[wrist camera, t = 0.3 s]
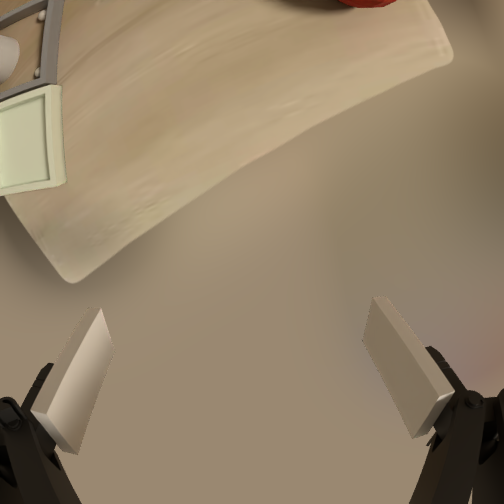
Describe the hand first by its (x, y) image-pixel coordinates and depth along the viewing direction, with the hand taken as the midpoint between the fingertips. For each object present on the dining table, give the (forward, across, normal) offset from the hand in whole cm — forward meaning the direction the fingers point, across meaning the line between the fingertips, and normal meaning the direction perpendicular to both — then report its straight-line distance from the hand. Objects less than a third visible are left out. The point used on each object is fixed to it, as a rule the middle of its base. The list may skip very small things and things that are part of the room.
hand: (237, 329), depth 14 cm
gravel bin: (+28, -36, +26) cm, 52 cm away
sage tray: (+28, -30, +11) cm, 42 cm away
